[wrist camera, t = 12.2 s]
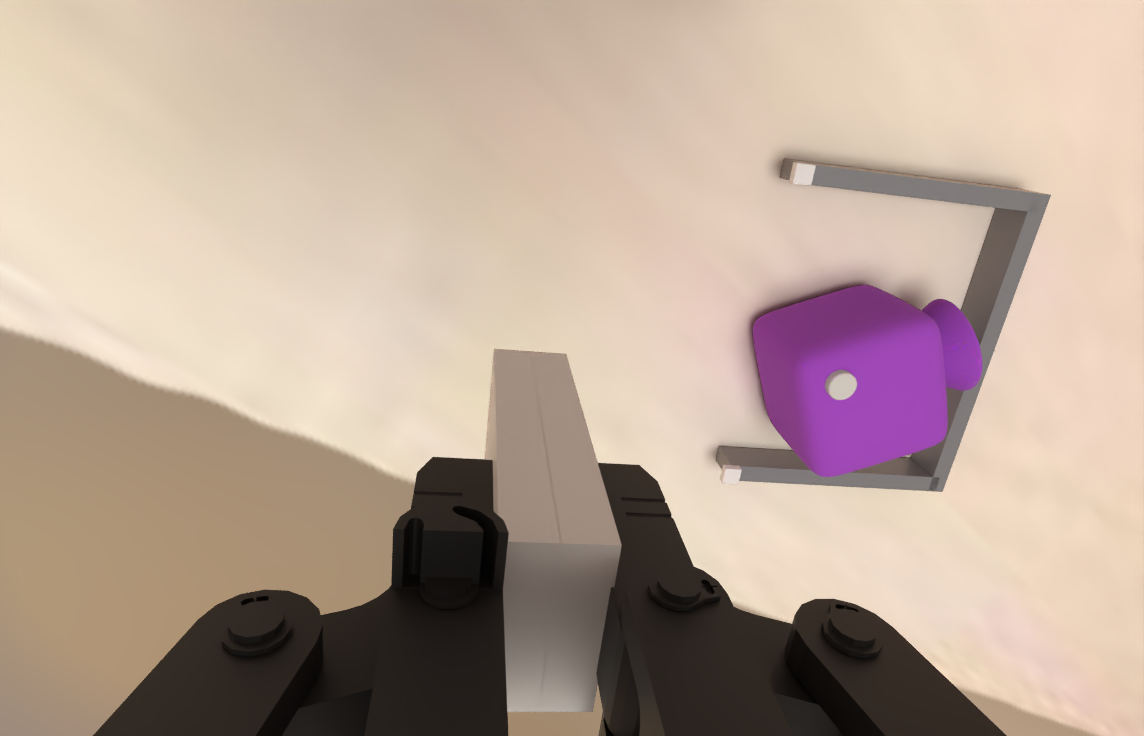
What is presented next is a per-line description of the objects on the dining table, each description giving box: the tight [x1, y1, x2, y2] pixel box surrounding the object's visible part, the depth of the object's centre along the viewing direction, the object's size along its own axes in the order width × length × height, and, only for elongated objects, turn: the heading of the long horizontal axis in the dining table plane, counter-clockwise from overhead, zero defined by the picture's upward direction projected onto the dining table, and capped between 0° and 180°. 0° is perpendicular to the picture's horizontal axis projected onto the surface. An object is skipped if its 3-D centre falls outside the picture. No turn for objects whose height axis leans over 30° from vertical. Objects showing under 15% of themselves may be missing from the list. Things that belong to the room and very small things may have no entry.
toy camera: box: [753, 285, 982, 477], centre depth 47 cm, size 11×14×10 cm
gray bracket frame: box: [716, 159, 1051, 492], centre depth 50 cm, size 22×18×4 cm
